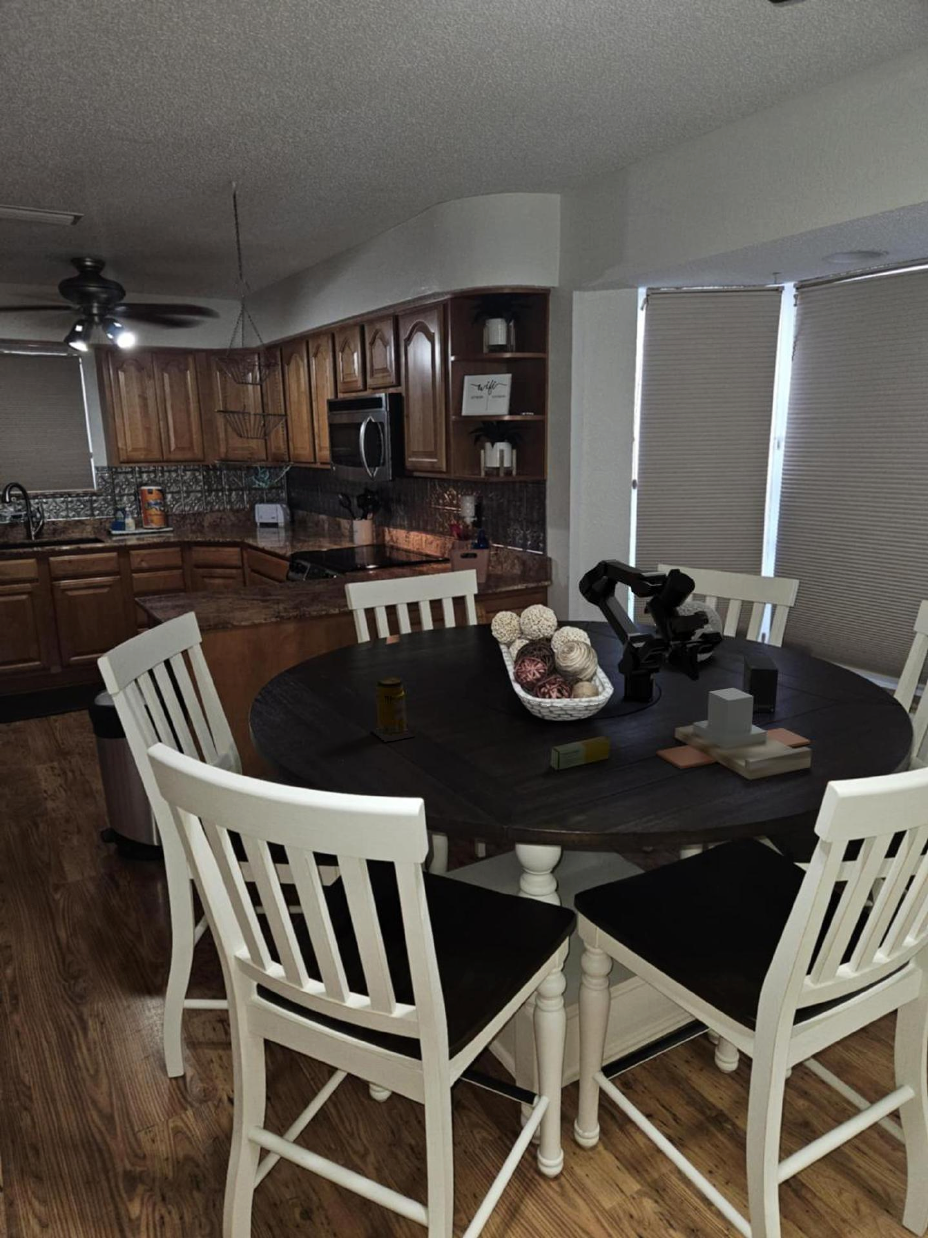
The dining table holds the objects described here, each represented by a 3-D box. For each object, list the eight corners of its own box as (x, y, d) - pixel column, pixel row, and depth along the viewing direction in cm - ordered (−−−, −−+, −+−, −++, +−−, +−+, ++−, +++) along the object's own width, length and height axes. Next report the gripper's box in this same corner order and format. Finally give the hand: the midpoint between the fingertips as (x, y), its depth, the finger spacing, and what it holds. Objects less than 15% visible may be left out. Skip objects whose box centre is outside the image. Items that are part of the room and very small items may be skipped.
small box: (777, 713, 177) (780, 669, 175) (746, 712, 179) (749, 668, 176) (769, 698, 188) (772, 656, 185) (740, 697, 189) (742, 655, 186)
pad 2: (751, 736, 165) (751, 733, 165) (781, 730, 167) (781, 727, 167) (778, 749, 157) (778, 746, 157) (810, 743, 160) (810, 740, 160)
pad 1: (656, 754, 157) (656, 751, 157) (690, 747, 160) (690, 744, 160) (680, 769, 150) (680, 766, 150) (715, 762, 152) (716, 759, 152)
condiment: (401, 725, 177) (399, 674, 174) (416, 737, 169) (413, 684, 167) (370, 731, 174) (367, 679, 171) (384, 744, 166) (381, 689, 164)
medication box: (556, 771, 151) (557, 753, 150) (549, 765, 153) (550, 746, 152) (610, 758, 155) (611, 740, 154) (602, 752, 158) (603, 734, 157)
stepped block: (692, 731, 163) (694, 690, 161) (732, 724, 166) (734, 683, 164) (724, 749, 154) (726, 705, 152) (766, 741, 157) (768, 697, 155)
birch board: (675, 737, 165) (675, 721, 165) (730, 727, 170) (730, 711, 169) (749, 779, 144) (750, 761, 144) (810, 767, 149) (811, 749, 148)
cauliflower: (657, 617, 235) (685, 580, 223) (710, 644, 235) (741, 608, 223) (646, 661, 221) (675, 624, 209) (702, 690, 220) (734, 655, 209)
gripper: (646, 602, 166) (676, 666, 158) (719, 594, 172) (751, 655, 165) (625, 631, 175) (652, 693, 167) (696, 622, 181) (725, 681, 174)
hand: (696, 680), depth 168 cm, fingers closed
